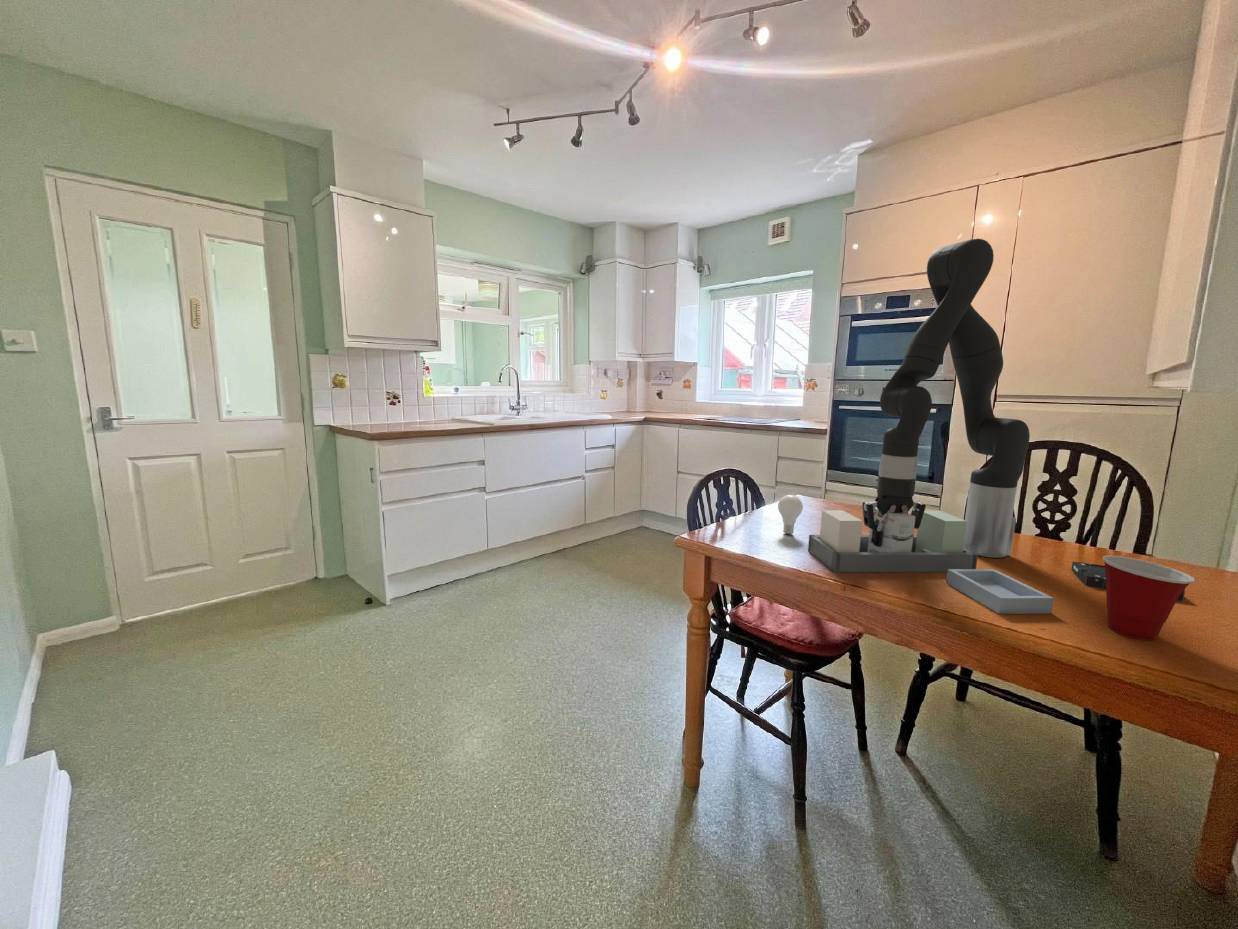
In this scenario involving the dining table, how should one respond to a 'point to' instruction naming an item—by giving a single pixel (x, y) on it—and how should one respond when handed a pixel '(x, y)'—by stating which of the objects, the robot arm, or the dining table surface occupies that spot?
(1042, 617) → the dining table surface
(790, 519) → the lightbulb
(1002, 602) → the tray
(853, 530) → the cream block
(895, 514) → the ink box
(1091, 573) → the disk drive
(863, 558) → the holder
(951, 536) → the sage block
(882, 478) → the robot arm
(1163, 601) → the plastic cup
